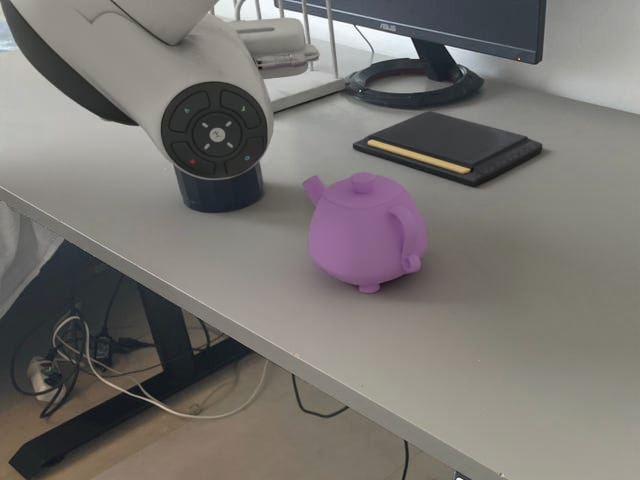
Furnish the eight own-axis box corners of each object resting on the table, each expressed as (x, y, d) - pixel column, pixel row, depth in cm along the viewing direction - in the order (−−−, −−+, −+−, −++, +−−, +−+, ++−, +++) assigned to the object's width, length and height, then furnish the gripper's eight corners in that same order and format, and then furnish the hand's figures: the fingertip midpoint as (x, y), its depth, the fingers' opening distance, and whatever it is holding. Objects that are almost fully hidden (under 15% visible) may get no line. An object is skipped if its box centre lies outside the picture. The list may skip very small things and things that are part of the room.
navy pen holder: (185, 217, 76) (157, 113, 69) (181, 185, 82) (155, 87, 76) (269, 205, 78) (250, 103, 72) (259, 174, 85) (240, 79, 78)
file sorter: (155, 85, 112) (125, -27, 103) (247, 61, 123) (228, -42, 113) (254, 120, 100) (231, -4, 90) (347, 90, 110) (335, -23, 101)
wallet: (547, 136, 90) (471, 174, 80) (546, 150, 91) (471, 189, 82) (429, 103, 100) (348, 133, 90) (429, 117, 101) (350, 148, 91)
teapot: (377, 319, 61) (367, 219, 55) (272, 260, 69) (254, 167, 63) (460, 273, 67) (459, 178, 61) (356, 223, 75) (346, 135, 69)
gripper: (318, 20, 61) (291, -10, 71) (52, 42, 55) (64, 6, 65) (328, 95, 64) (300, 57, 75) (80, 124, 58) (87, 77, 69)
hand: (189, 33), depth 70 cm, fingers open, 8 cm apart
